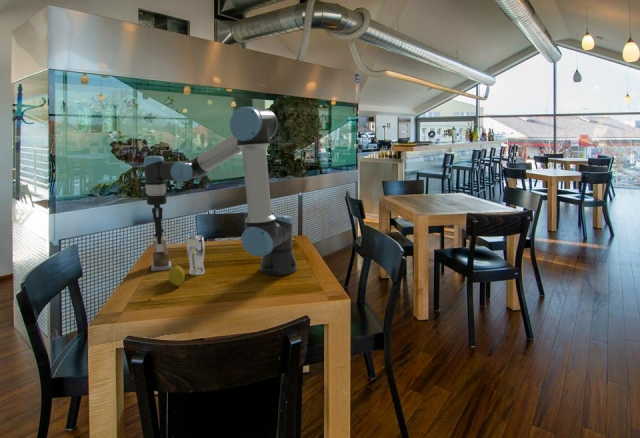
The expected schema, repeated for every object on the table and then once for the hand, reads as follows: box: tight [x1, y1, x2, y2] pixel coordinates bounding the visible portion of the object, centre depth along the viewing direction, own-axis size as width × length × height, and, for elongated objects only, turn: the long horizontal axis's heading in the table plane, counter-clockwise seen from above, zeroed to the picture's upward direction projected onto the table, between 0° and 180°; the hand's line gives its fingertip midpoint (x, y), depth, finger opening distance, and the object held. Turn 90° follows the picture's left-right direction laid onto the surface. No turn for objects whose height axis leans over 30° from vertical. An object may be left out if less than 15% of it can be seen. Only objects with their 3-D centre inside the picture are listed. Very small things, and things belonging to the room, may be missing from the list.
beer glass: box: [186, 234, 206, 276], centre depth 170 cm, size 7×7×15 cm
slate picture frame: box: [150, 260, 173, 272], centre depth 179 cm, size 9×8×1 cm
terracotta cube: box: [152, 236, 168, 252], centre depth 177 cm, size 5×5×5 cm
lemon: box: [168, 265, 186, 287], centre depth 156 cm, size 6×6×8 cm
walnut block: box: [152, 250, 170, 267], centre depth 178 cm, size 6×6×5 cm
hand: (160, 249), depth 177 cm, fingers closed on terracotta cube, 5 cm apart
